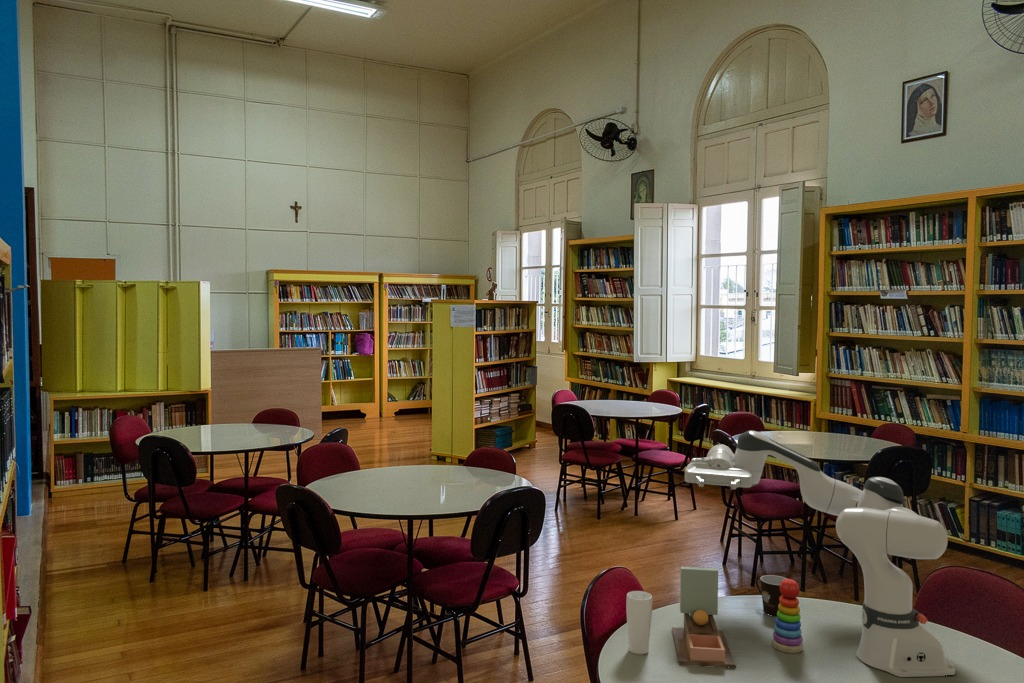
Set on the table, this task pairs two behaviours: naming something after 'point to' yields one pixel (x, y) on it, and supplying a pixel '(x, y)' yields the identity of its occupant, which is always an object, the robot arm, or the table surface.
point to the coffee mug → (770, 592)
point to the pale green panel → (699, 590)
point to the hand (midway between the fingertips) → (717, 485)
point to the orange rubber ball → (700, 617)
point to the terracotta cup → (705, 648)
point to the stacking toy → (788, 619)
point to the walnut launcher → (694, 628)
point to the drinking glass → (638, 621)
